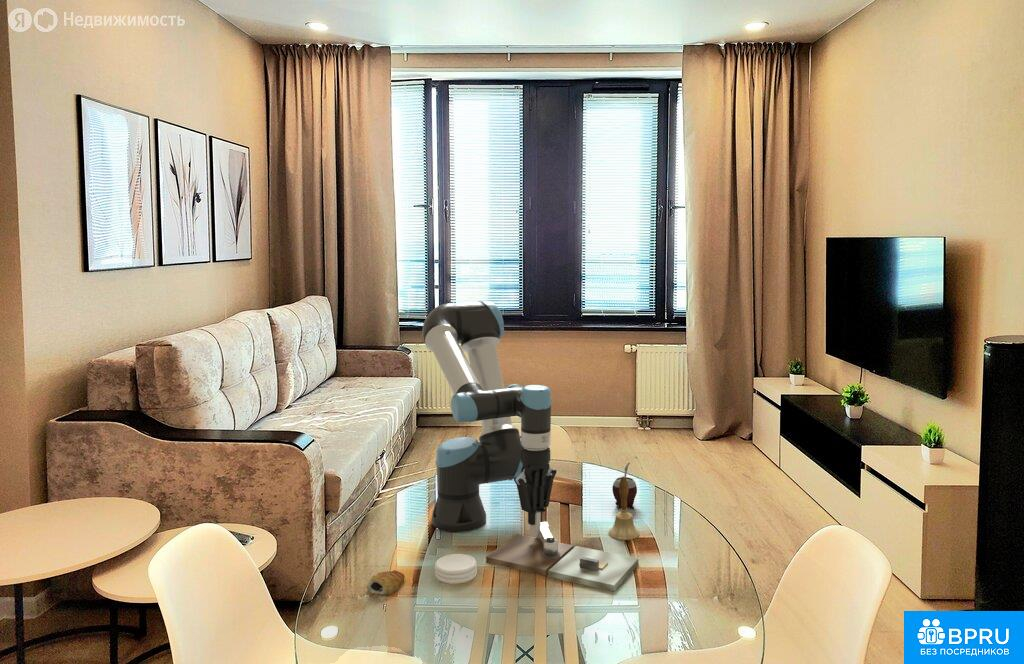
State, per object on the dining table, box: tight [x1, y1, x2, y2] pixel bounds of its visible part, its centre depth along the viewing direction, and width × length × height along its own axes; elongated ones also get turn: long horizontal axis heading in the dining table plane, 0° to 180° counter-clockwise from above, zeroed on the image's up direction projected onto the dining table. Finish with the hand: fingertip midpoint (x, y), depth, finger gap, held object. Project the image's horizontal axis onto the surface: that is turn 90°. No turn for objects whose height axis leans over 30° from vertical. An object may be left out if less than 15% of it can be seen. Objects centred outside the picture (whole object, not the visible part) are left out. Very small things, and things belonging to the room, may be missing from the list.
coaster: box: [434, 553, 478, 585], centre depth 196 cm, size 10×10×4 cm
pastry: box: [366, 569, 406, 596], centre depth 190 cm, size 9×7×4 cm
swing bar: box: [538, 521, 559, 556], centre depth 207 cm, size 15×4×4 cm, turn 9°
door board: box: [485, 533, 639, 592], centre depth 201 cm, size 34×16×4 cm, turn 61°
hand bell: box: [607, 476, 641, 541], centre depth 217 cm, size 8×8×16 cm
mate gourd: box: [611, 462, 638, 510], centre depth 237 cm, size 8×8×15 cm
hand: (534, 535), depth 210 cm, fingers closed
